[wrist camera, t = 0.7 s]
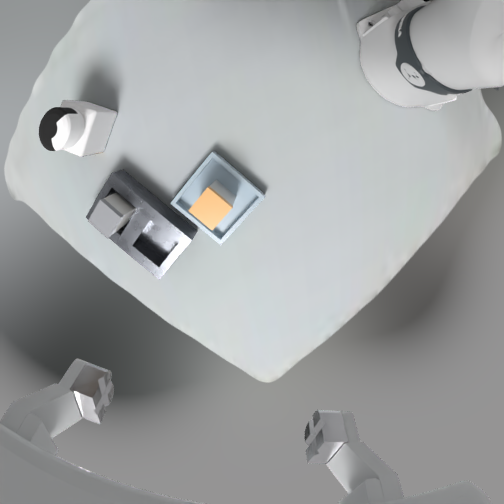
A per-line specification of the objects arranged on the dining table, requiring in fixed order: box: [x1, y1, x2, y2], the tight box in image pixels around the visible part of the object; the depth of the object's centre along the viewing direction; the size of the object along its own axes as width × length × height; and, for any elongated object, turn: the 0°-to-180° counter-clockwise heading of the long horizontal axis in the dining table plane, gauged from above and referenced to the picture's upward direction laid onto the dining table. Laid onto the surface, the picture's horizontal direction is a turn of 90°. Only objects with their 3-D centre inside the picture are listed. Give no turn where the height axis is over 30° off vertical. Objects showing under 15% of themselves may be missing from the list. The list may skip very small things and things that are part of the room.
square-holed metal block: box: [86, 170, 197, 280], centre depth 45 cm, size 16×9×4 cm, turn 48°
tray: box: [170, 151, 265, 245], centre depth 44 cm, size 10×10×2 cm
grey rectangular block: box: [88, 192, 137, 238], centre depth 41 cm, size 4×4×7 cm
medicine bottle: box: [39, 100, 117, 157], centre depth 35 cm, size 7×7×12 cm
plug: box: [188, 180, 237, 230], centre depth 41 cm, size 4×4×7 cm
